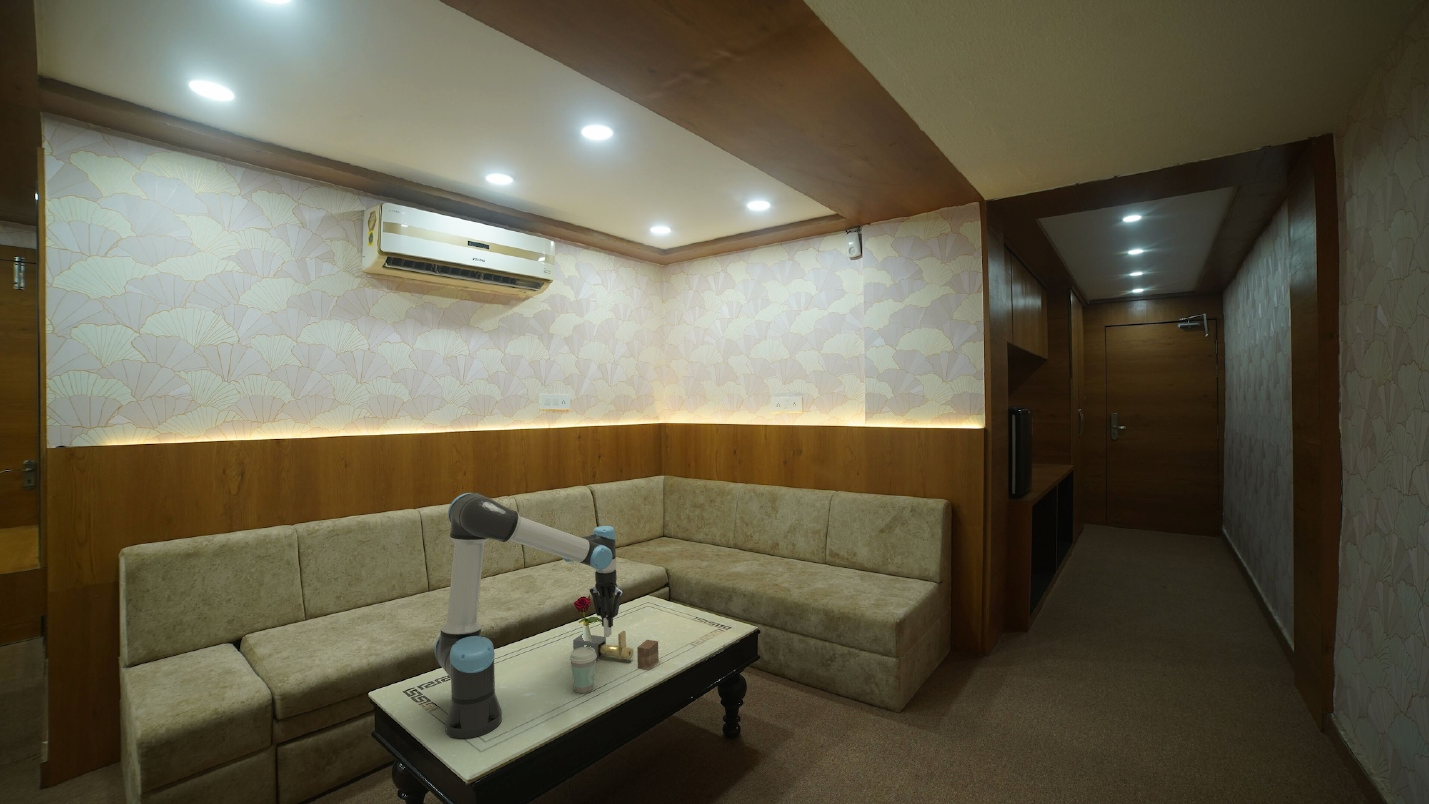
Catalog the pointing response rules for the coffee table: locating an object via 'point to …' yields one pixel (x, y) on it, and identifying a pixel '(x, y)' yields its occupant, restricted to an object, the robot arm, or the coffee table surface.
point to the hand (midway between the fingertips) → (607, 635)
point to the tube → (617, 648)
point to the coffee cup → (583, 668)
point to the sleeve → (590, 643)
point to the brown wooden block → (647, 654)
